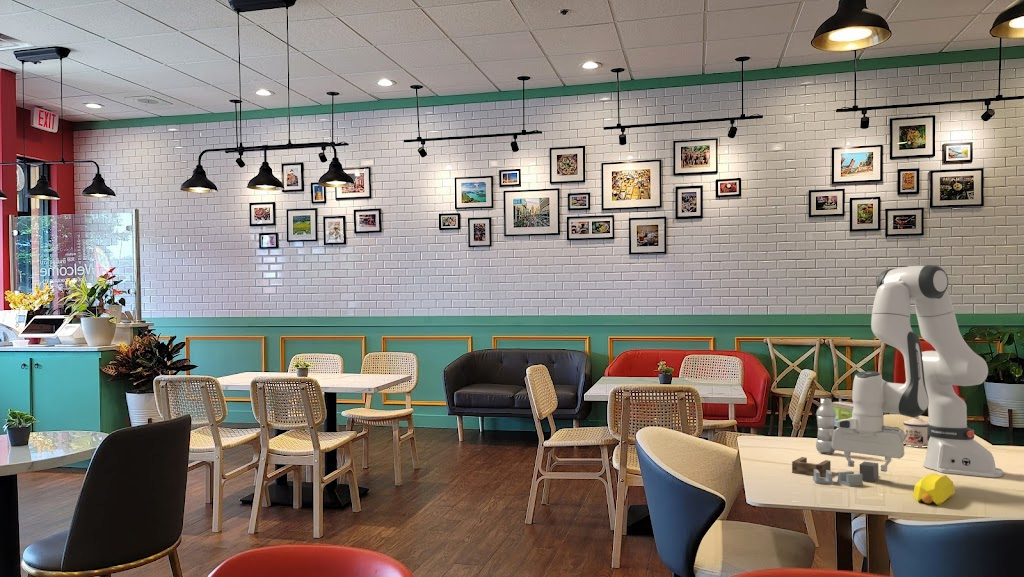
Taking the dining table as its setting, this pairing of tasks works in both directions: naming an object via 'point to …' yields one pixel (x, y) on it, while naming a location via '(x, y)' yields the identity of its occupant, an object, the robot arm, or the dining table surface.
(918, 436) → the teacup with lid
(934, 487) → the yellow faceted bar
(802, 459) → the holder
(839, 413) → the tea box
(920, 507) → the dining table surface
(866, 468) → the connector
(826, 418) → the open metal bottle
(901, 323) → the robot arm
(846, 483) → the clip
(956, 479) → the dining table surface
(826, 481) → the clip
